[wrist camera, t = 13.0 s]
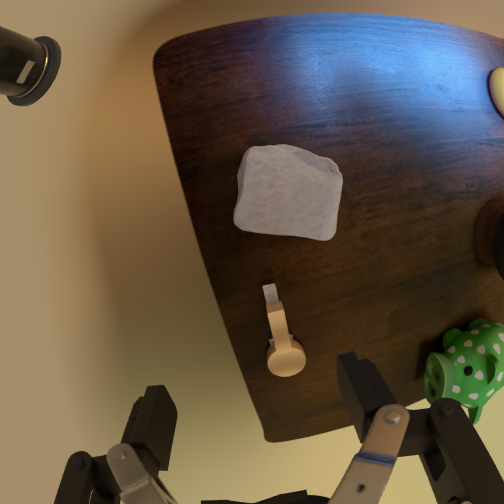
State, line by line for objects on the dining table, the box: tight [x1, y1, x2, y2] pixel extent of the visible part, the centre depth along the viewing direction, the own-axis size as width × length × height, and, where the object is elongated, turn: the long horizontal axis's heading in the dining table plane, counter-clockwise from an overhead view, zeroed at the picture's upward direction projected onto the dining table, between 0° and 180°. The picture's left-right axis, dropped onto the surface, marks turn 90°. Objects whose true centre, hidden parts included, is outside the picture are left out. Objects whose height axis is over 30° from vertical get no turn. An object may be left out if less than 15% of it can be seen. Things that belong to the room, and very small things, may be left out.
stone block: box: [233, 144, 343, 241], centre depth 32 cm, size 12×5×10 cm
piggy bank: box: [423, 319, 504, 425], centre depth 35 cm, size 14×18×15 cm
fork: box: [262, 280, 293, 346], centre depth 39 cm, size 14×3×1 cm, turn 13°
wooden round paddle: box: [266, 301, 306, 377], centre depth 37 cm, size 11×5×2 cm, turn 13°
